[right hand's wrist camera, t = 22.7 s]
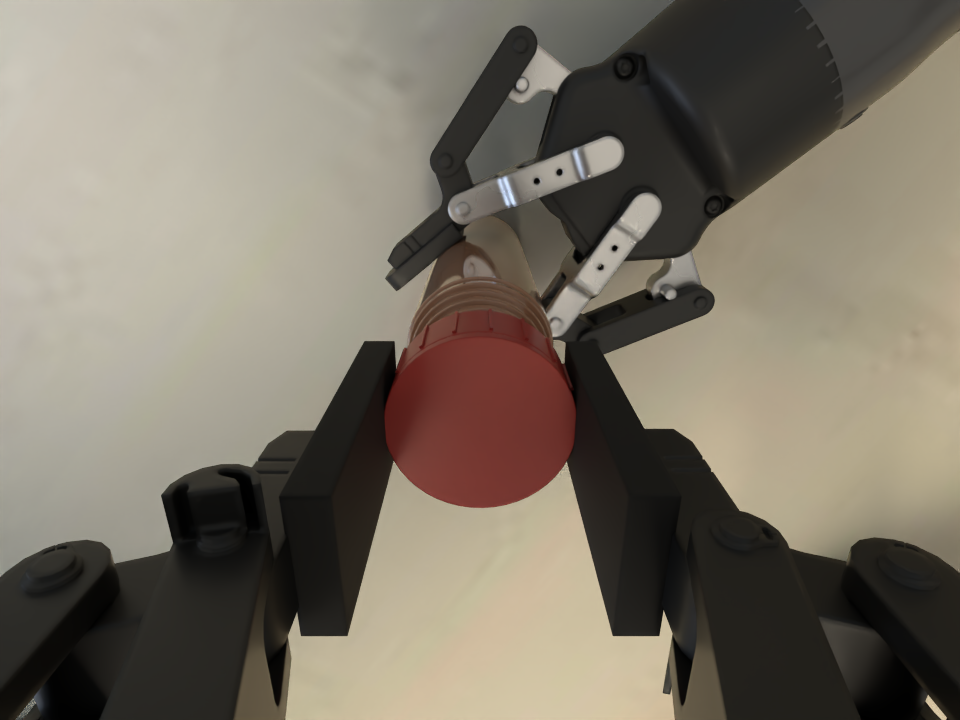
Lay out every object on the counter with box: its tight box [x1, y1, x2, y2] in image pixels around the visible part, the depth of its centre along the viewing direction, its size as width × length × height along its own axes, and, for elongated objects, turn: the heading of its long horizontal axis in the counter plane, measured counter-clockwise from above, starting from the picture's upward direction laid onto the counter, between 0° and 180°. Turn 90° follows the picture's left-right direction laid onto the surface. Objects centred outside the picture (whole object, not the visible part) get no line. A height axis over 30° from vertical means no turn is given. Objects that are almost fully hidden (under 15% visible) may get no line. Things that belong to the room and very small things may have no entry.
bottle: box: [407, 215, 553, 346], centre depth 22 cm, size 4×4×18 cm
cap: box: [384, 309, 576, 508], centre depth 14 cm, size 4×4×2 cm
